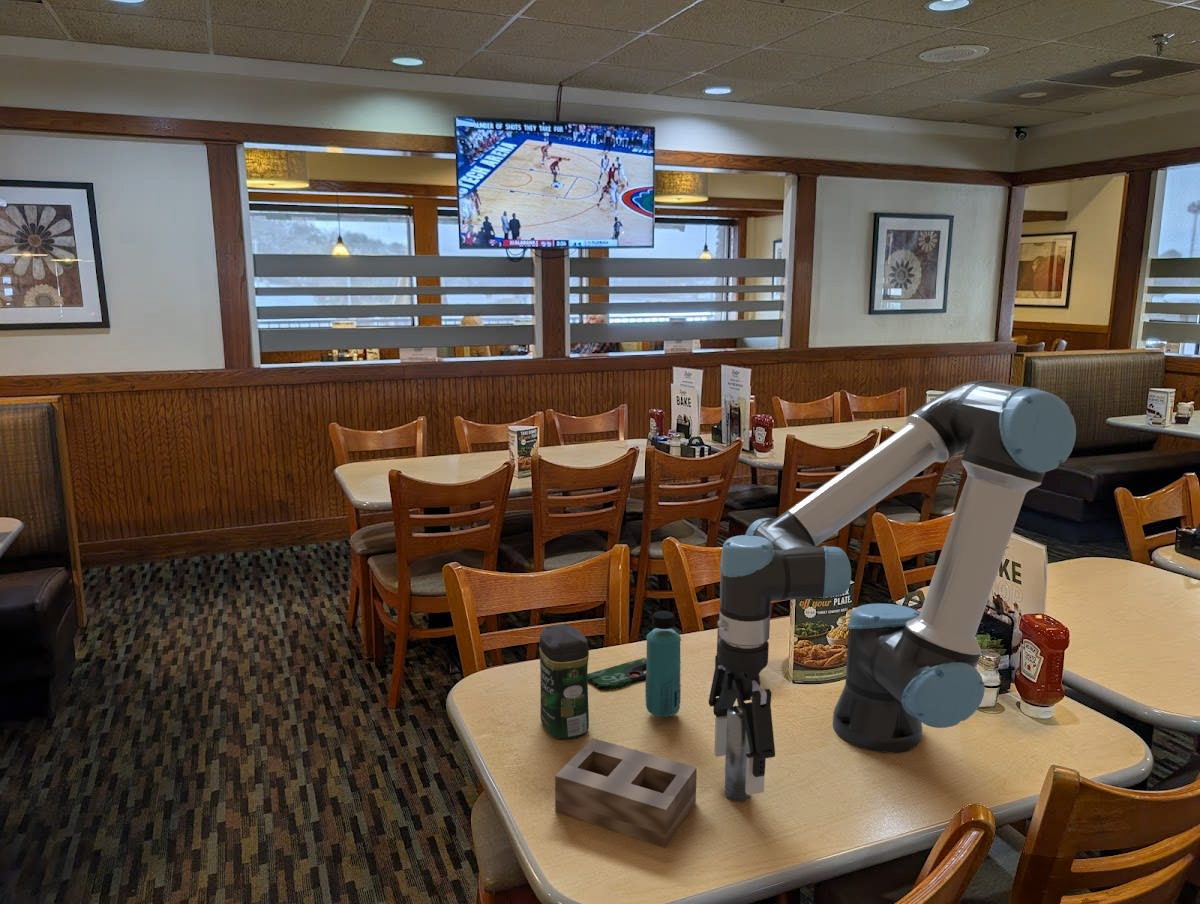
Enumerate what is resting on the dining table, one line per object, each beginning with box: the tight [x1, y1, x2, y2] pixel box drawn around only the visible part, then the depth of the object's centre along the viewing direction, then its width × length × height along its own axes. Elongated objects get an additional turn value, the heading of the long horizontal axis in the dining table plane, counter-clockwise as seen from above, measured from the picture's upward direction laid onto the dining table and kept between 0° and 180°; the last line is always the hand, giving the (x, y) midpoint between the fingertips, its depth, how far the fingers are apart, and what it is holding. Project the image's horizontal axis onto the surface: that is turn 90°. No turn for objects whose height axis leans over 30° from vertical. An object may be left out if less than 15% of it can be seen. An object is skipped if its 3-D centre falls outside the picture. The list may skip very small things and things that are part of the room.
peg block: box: [554, 737, 698, 849], centre depth 128 cm, size 18×12×6 cm, turn 63°
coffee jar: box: [538, 623, 590, 740], centre depth 150 cm, size 10×8×19 cm
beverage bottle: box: [644, 610, 682, 718], centre depth 154 cm, size 6×7×20 cm
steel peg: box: [724, 705, 751, 803], centre depth 131 cm, size 4×4×14 cm
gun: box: [588, 657, 647, 691], centre depth 171 cm, size 16×2×10 cm
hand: (738, 772), depth 131 cm, fingers open, 10 cm apart
